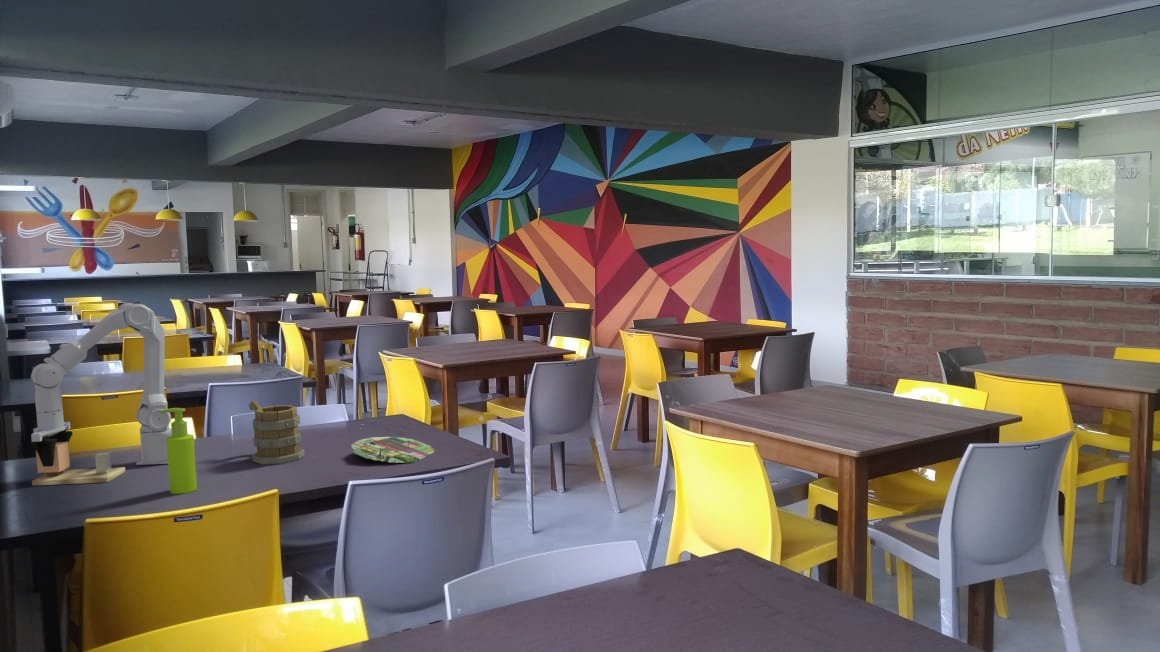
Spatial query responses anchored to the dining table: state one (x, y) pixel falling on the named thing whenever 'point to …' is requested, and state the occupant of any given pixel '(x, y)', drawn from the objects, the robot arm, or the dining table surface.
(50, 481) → the birch board
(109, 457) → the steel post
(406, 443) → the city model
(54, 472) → the walnut post
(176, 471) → the soap dispenser
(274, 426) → the tankard
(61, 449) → the tan cardboard box
